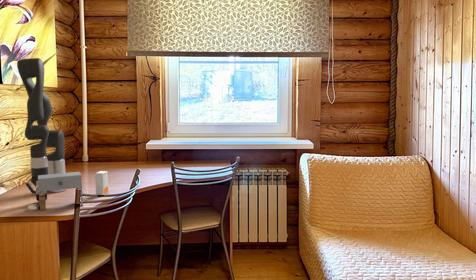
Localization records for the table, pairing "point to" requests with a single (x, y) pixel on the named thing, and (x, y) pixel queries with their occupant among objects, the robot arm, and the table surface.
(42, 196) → the copper bar
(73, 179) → the low cabinet
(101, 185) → the skincare box
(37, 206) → the silver rounded piece
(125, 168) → the table surface
